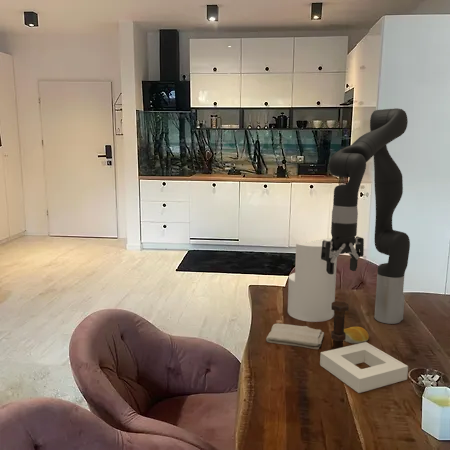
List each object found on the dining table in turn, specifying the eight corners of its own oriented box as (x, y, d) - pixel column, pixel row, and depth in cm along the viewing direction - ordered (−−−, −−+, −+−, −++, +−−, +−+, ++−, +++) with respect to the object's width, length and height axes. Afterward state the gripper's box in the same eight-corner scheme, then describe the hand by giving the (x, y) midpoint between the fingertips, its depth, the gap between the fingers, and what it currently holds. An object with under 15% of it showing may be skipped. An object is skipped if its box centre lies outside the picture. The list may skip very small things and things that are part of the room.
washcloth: (320, 351, 151) (321, 342, 150) (265, 344, 156) (265, 335, 156) (324, 336, 162) (325, 327, 162) (272, 329, 167) (272, 321, 167)
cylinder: (343, 315, 180) (347, 242, 174) (310, 325, 170) (313, 248, 165) (311, 301, 194) (313, 234, 188) (278, 310, 184) (280, 239, 179)
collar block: (365, 354, 148) (366, 341, 148) (407, 379, 133) (408, 366, 132) (320, 365, 141) (320, 352, 140) (358, 393, 126) (359, 379, 125)
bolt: (346, 353, 148) (348, 307, 146) (329, 352, 149) (331, 306, 147) (345, 345, 154) (347, 301, 151) (329, 344, 155) (331, 300, 152)
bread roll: (373, 340, 159) (373, 328, 158) (354, 346, 154) (355, 334, 153) (353, 331, 166) (354, 320, 165) (335, 337, 161) (336, 326, 160)
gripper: (354, 216, 150) (352, 266, 153) (317, 219, 144) (315, 271, 147) (371, 220, 143) (368, 272, 147) (332, 224, 138) (330, 278, 141)
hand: (341, 272), depth 147 cm, fingers open, 8 cm apart
